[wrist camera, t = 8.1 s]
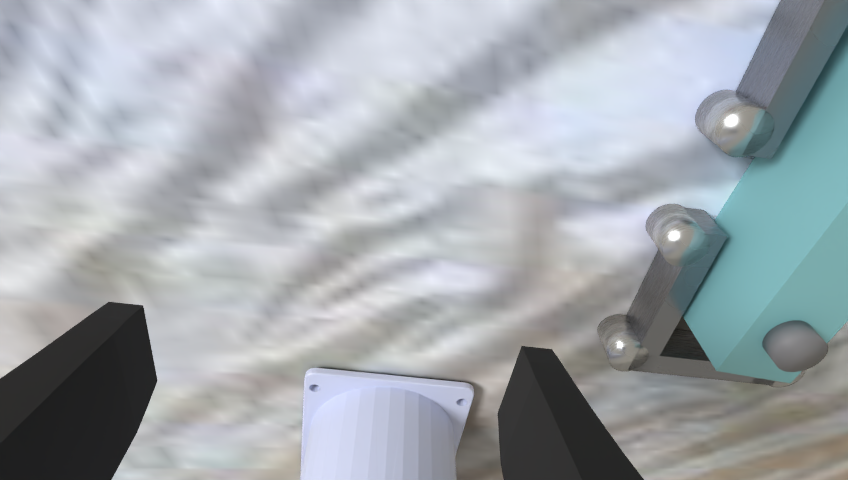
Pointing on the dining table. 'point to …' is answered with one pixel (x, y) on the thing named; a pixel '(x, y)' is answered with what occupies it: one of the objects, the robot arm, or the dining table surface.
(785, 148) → the teal studded beam
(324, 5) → the dining table surface
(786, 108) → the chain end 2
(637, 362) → the chain end
